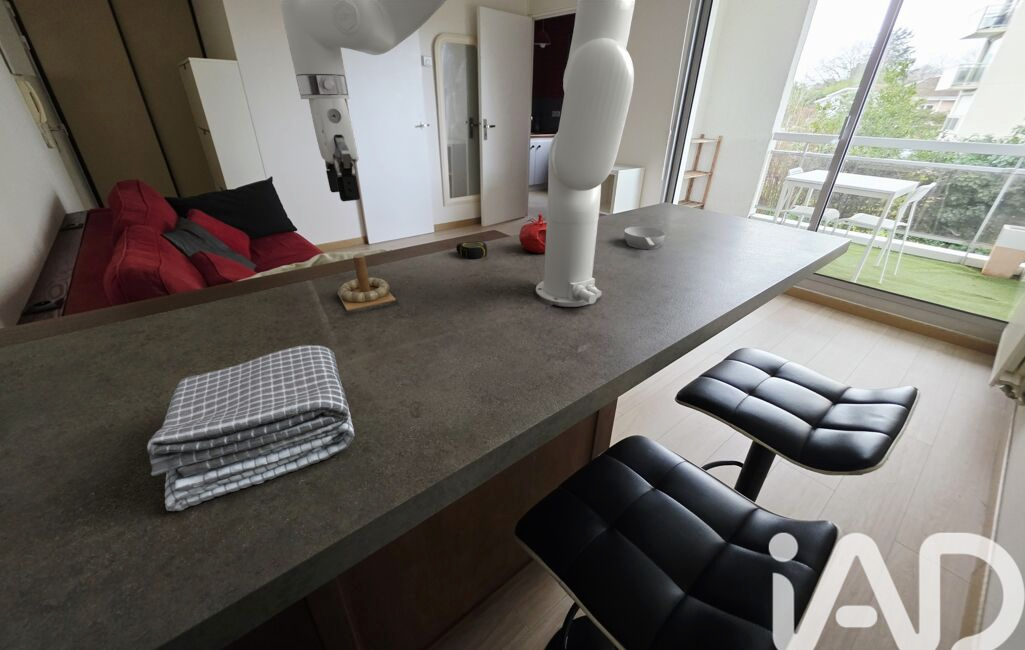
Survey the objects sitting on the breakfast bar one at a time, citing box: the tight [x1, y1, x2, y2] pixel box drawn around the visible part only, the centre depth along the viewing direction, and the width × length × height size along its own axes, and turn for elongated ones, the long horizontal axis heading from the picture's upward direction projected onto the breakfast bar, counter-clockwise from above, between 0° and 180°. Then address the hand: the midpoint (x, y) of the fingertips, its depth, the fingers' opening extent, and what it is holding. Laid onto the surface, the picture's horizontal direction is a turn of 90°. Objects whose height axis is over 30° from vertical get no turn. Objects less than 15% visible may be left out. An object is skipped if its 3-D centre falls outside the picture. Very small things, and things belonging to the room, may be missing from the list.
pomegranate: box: [518, 213, 547, 254], centre depth 108 cm, size 10×10×9 cm
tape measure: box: [455, 240, 488, 260], centre depth 103 cm, size 7×7×4 cm
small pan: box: [623, 226, 666, 250], centre depth 111 cm, size 11×18×4 cm, turn 172°
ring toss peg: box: [337, 253, 396, 312], centre depth 79 cm, size 9×9×9 cm
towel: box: [146, 344, 355, 512], centre depth 46 cm, size 15×18×8 cm
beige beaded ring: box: [337, 277, 390, 302], centre depth 81 cm, size 9×9×2 cm
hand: (344, 195), depth 76 cm, fingers open, 9 cm apart
